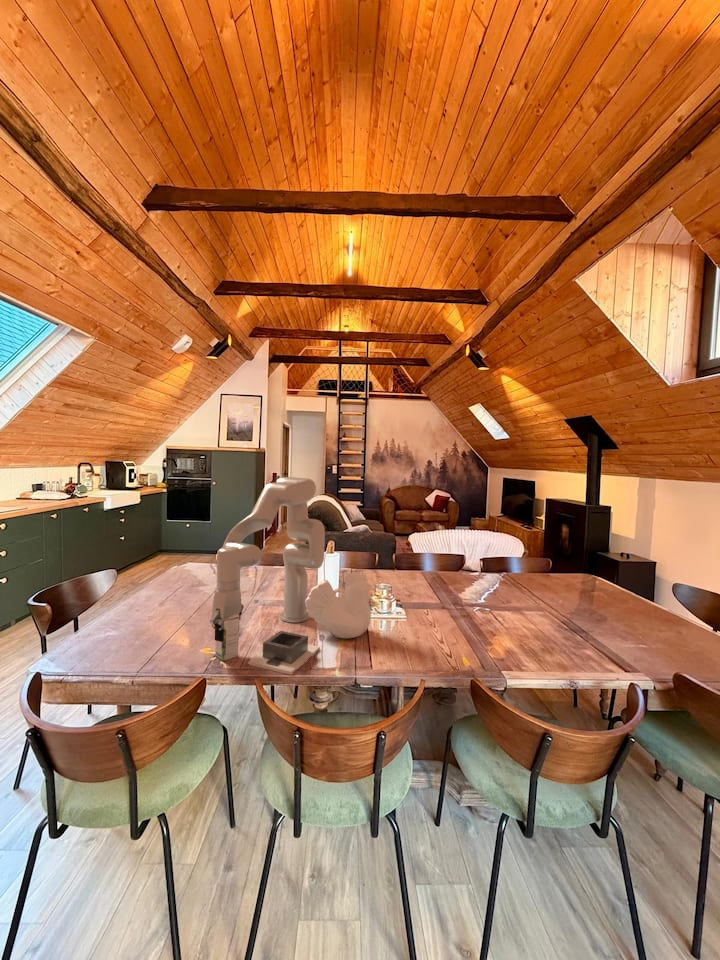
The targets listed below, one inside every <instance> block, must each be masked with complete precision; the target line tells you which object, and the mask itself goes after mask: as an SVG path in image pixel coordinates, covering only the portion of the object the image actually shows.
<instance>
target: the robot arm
mask: <svg viewBox="0 0 720 960" xmlns="http://www.w3.org/2000/svg"><path fill="white" fill-rule="evenodd" d="M316 491H317V486H316V483H315V481H314V480H312V479H311V478H306V477H303V478H302V477H293V476H287V477H286V476H282V477H279V478H277V479H276V480H275V482H269V483H267V484H266V485H264V487H263V489H262V491H261V493H260V495H259V497H258V499H257V501H256V503H255V505H254V506H253V508H252V511H251V513H250V514H249V515H248V516H246V517H245V518H244V519H242V520H241V521H239V523H237V524H236V525H235V526H233V527H232V529H231V530H230V531H229V533H228V534H227V536H226V538H225V540H224V542H223V545H222V547H221V548H219V549H218V550H217V552H216V553H217V554H216V589H215V592H214V595H213V601H212V611H211V618H210V620H209V624H210V625H211V627H212V628H213V629H214V641H215V642H216V641H220V642H223V641H224V629H223V626H224V622H225V621H227V620H228V619H229V617H230V616H232V615H234V614H237V615H239V622H240V621H241V619H242V618H241V615H242V614H243V610H244V609H245V605H244V604H243V603H242V592H241V568H248V567H253V566H255V565H257V564H259V563H260V561H261V558H262V555H263V554H262V551H261V549H260V548H259V546H257V545H255V544H250V543H245V542H243V541H244V539H245V538H247V537H248V536H250V535H251V534H253V533H256V532H258V531H261V530H264V529H266V528H268V527H271V525H272V524H273V522H274V520H275V518H276V516H277V514H278V512H279V510H280V507H286V511H287V515H286V517H287V518H286V531H287V532H286V533H287V536H288V538H289V539H290V540H294V541H299V542H290V543H288V544H287V545H285V546H284V548H283V551H282V559H283V564H284V565H283V566H284V590H283V591H284V594H283V611H282V612H281V613H280V614H279V619H280V620H281V621H282V622H285V623H286V622H287V623H295V624H296V623H302V622H306V621H308V620H309V619H311V617H310V616H309V614H308V611H307V608H306V603H305V600H306V598H307V597H308V581H309V580H308V572H307V569H310V570H311V569H312V570H318V569H320V568H321V567H322V566H323V563H324V560H325V545H326V543H325V537H326V533H325V532H326V531H325V530H326V529H325V526H324V524H323V522H322V521H321V520H319V519H317V518H316V519H315V518H310V517H309V513H308V512H309V506H308V503H307V502H309V501H311V500H312V499H313V498H314V497H315V494H316ZM300 542H306V543H300ZM220 618H222V620H220ZM219 622H221V624H220V625H219V624H218V623H219Z"/></svg>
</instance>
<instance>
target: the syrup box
mask: <svg viewBox="0 0 720 960" xmlns="http://www.w3.org/2000/svg"><path fill="white" fill-rule="evenodd" d="M220 620H222V618H220ZM218 624H219V625H220V624H221V622H219V623H218ZM223 629H224V641H223V642H220V641H216V640H215V654H214V655H215V657H217V658H219V659H220V660H221V662H223V661H224V662H225V661H227V660H231V659H233V658H236V657H238V656H239V632H240V621H239V615H237V614H234V615H232V616H230V617H229V619H228V620H227V621H225V622H224V626H223Z"/></svg>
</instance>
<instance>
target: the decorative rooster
mask: <svg viewBox="0 0 720 960" xmlns="http://www.w3.org/2000/svg"><path fill="white" fill-rule="evenodd" d="M343 581H344V584H345V587H344V589H342V588H340V587H339V588H336V589H333V587H332V584H331V583H330V582H329V580H327V579H324V580H322V581H319V582H318V584H317V585H315V586H313V587H312V588H311V589H310V592H309V593H308V594H307V598H306V600H305V603H306V608H307V612H308V614H309V616H310V619H311V618H312V619H314V621H315V622H316V623H318V624H324V626H325V627H326V628H327V629H328V631H330V632H331V633H332V635H334V637H336V638H339V639H352V638H357V637H360V636H361V635H363V634H364V633H365V632H366V631H367V629H368V628H369V626H370V623H371V618H372V616H371V614H372V611H371V607H370V604H369V602H370V590H371V588H372V587H373V585H372V584H371V583H368V582H367V574H366V573H364V572H363V573H362V572H358V571H352V572H350V573H345V574H344V576H343ZM337 593H340V594H341V596H337Z"/></svg>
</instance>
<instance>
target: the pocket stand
mask: <svg viewBox="0 0 720 960" xmlns="http://www.w3.org/2000/svg"><path fill="white" fill-rule="evenodd" d="M320 648H321V646H318V645H312V644H309V636H307V635H303V634H297V633H294V632H288V631H284V630H283V631H282V630H280V631H278V632H277V633H275V634H274V635H272V636H271V637H269V638H267V639H266V640H265V641H262V651H261V652H259V653H258V654H257V655H256V656H254V657H252V658H250V660H248V662H247V663H248V664H249V666H253V667H258V668H260V669H261V668H262V669H265V670H269V671H273V672H276V673H281V674H285V673H286V674H285V675H289V674H290V676H292V675H294V673H295V672H296V671H297V670H296V669H298V668H299V667H300V666H301V665H302V664H303V663H304V662H305V663H307V662H308V661H309V660H310V659H311V658H312V657H314V655H315V654H317V653H318V652H319V651H320V650H319V649H320ZM318 650H319V651H318ZM317 651H318V652H317ZM316 652H317V653H316ZM311 656H312V657H311ZM310 657H311V658H310ZM309 658H310V659H309ZM308 659H309V660H308ZM307 660H308V661H307ZM305 663H304V664H305ZM248 664H247V665H248ZM304 664H303V665H304ZM303 665H302V666H303ZM302 666H301V667H302ZM301 667H300V668H301ZM300 668H299V669H300ZM299 669H298V670H299ZM295 670H296V671H295ZM294 671H295V672H294ZM293 672H294V673H293Z"/></svg>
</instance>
